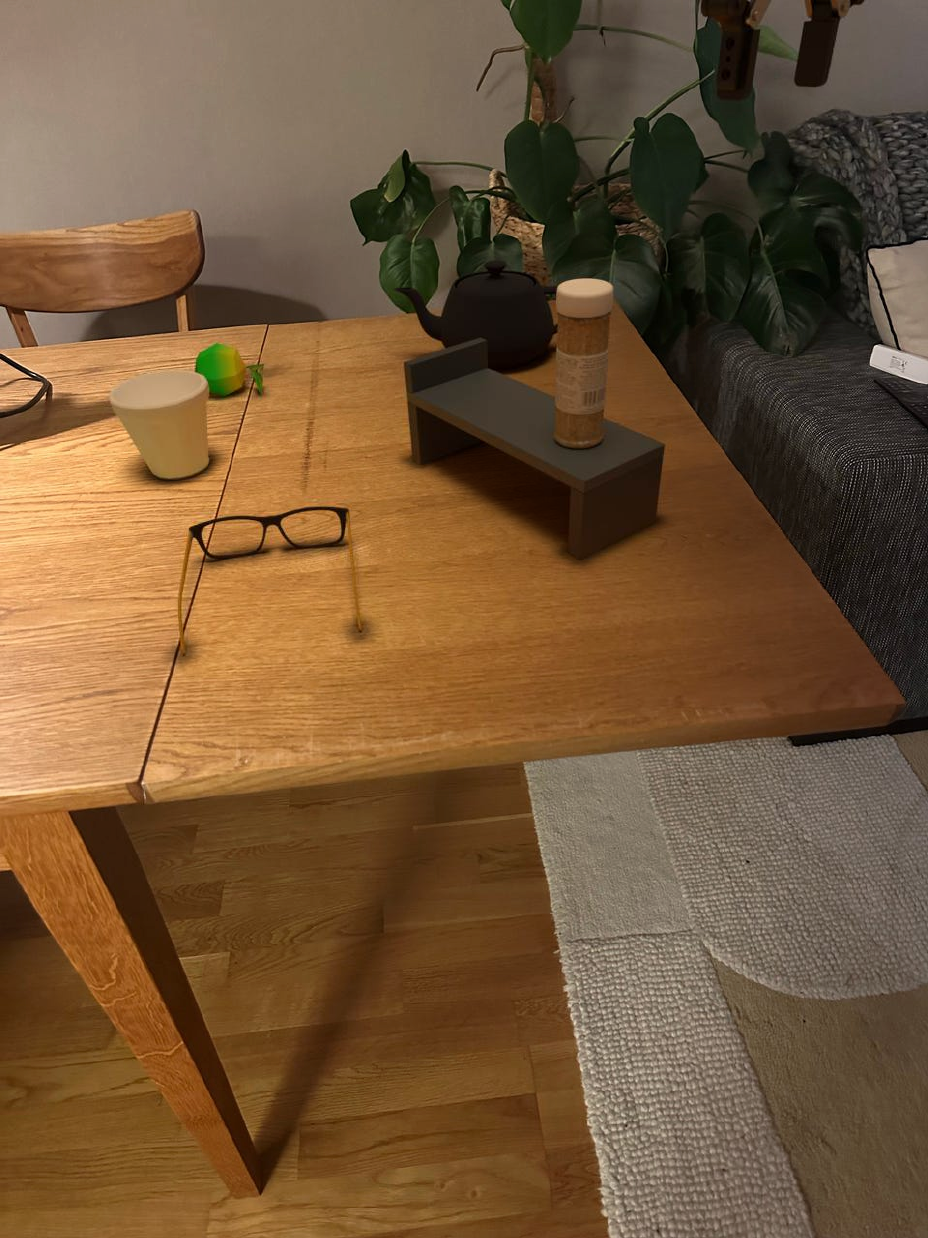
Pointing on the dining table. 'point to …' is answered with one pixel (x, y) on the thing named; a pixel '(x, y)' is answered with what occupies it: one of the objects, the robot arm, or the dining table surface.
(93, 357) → the dining table surface
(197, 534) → the eyeglasses
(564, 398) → the sprinkles bottle
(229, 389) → the apple
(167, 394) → the cup
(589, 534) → the shelf
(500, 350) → the teapot
